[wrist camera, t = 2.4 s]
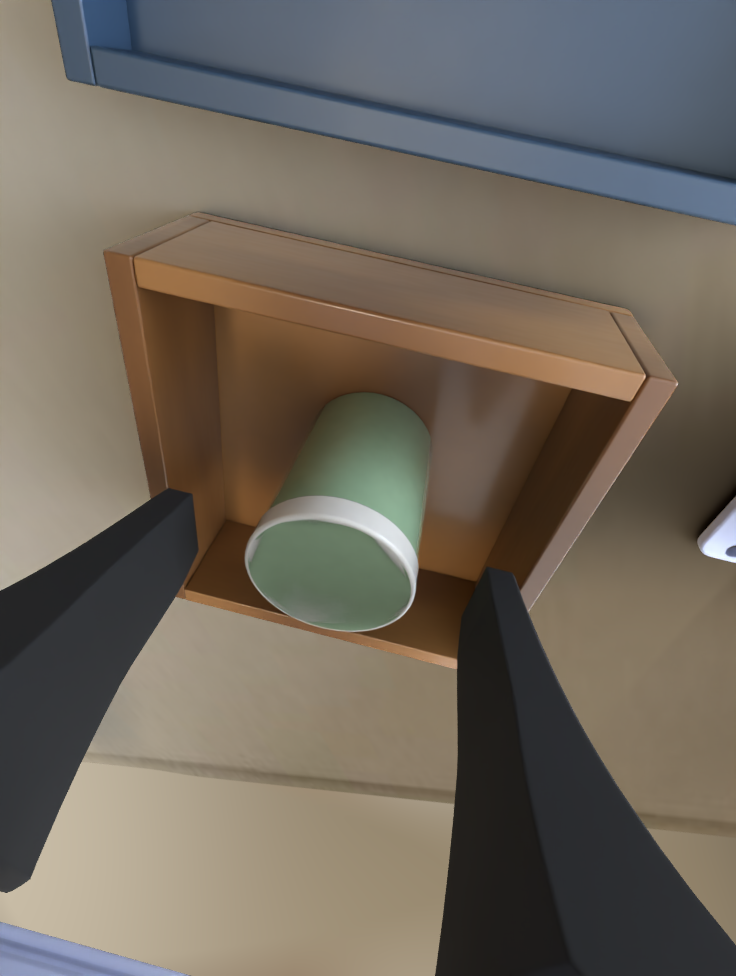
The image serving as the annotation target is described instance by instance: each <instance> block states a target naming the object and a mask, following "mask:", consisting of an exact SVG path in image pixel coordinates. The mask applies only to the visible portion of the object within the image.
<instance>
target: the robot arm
mask: <svg viewBox="0 0 736 976" xmlns="http://www.w3.org/2000/svg"><path fill="white" fill-rule="evenodd" d="M697 541H698V546H699V548H700V550H701V552H702V553H703V554H705V555H707V556H709V557H714V558H718V559H722V560H726V561H730V562H734V563H736V546H735V545H736V496H735V497H734V499H733V500H732V501H731V502H730V503H729V504H728V505H727V506H726V507H725V509H724V510H723V511H722V512H721V513H720V514H719V515H718V516H717V517H716V518H715V520H714V521H713V522H712V523H711V524H710V525H709V526H708V527H707V528H706V530H705V531H704V532H703V533H702V534H701V535H700V536H699V538H698V540H697ZM731 546H735V547H731ZM729 547H731V548H729ZM198 551H199V547H198V538H197V529H196V521H195V512H194V503H193V494H191V493H187V492H183V491H179V490H175V489H171V488H167V489H166V490H164V491H163V492H161V493H160V494H158V495H156V496H155V497H153V498H152V499H151V500H149V501H148V502H146V503H145V504H143V505H142V506H140V507H139V508H137V509H136V510H134V511H133V512H131V513H130V514H128V515H127V516H125V517H124V518H122V519H121V520H119V521H118V522H116V523H115V524H113V525H112V526H110V527H109V528H107V529H106V530H104V531H103V532H101V533H100V534H98V535H96V536H95V537H93V538H92V539H90V540H89V541H87V542H86V543H84V544H82V545H81V546H79V547H78V548H76V549H74V550H73V551H71V552H69V553H68V554H66V555H64V556H62V557H61V558H59V559H57V560H56V561H54V562H52V563H51V564H49V565H47V566H46V567H44V568H42V569H40V570H39V571H37V572H35V573H33V574H31V575H30V576H28V577H26V578H24V579H22V580H20V581H18V582H17V583H15V584H13V585H11V586H9V587H7V588H5V589H3V590H1V591H0V891H1V892H5V893H8V892H10V891H13V890H14V889H16V888H18V887H19V886H21V885H22V884H24V883H25V882H27V881H28V880H29V879H30V878H31V876H32V873H33V871H34V868H35V865H36V863H37V861H38V858H39V856H40V854H41V851H42V849H43V847H44V844H45V842H46V840H47V837H48V835H49V833H50V830H51V828H52V825H53V823H54V821H55V819H56V816H57V814H58V812H59V809H60V807H61V805H62V803H63V801H64V798H65V796H66V794H67V792H68V790H69V787H70V785H71V783H72V781H73V779H74V777H75V775H76V772H77V770H78V768H79V766H80V764H81V762H82V760H83V757H84V755H85V753H86V751H87V749H88V747H89V745H90V743H91V741H92V739H93V737H94V735H95V733H96V731H97V729H98V727H99V725H100V723H101V721H102V719H103V717H104V715H105V713H106V711H107V709H108V707H109V705H110V703H111V701H112V699H113V697H114V695H115V694H116V692H117V690H118V688H119V686H120V684H121V682H122V680H123V679H124V677H125V675H126V674H127V672H128V670H129V669H130V667H131V665H132V664H133V662H134V661H135V659H136V657H137V656H138V654H139V653H140V651H141V650H142V648H143V647H144V645H145V643H146V642H147V640H148V639H149V637H150V636H151V634H152V633H153V631H154V629H155V628H156V626H157V625H158V623H159V622H160V620H161V619H162V617H163V615H164V614H165V612H166V611H167V609H168V608H169V606H170V604H171V603H172V601H173V600H174V598H175V597H176V595H177V593H178V592H179V590H180V588H181V587H182V585H183V583H184V581H185V579H186V577H187V575H188V573H189V571H190V568H191V566H192V564H193V562H194V560H195V558H196V555H197V553H198ZM457 711H458V764H457V781H456V793H455V807H454V817H453V828H452V838H451V848H450V859H449V868H448V877H447V886H446V894H445V903H444V913H443V920H442V928H441V936H440V943H439V951H438V959H437V966H436V974H435V976H736V945H735V944H734V942H733V941H732V940H731V939H730V938H729V936H728V935H727V934H726V933H725V931H724V930H723V929H722V928H721V926H720V925H719V924H718V923H717V922H716V920H715V919H714V918H713V916H712V915H711V914H710V913H709V912H708V910H707V909H706V908H705V907H704V905H703V904H702V903H701V902H700V900H699V899H698V898H697V897H696V896H695V894H694V893H693V892H692V890H691V889H690V888H689V886H688V885H687V884H686V882H685V881H684V880H683V878H682V877H681V876H680V874H679V873H678V872H677V870H676V869H675V868H674V867H673V865H672V863H671V862H670V861H669V859H668V858H667V857H666V856H665V854H664V853H663V851H662V850H661V849H660V847H659V846H658V845H657V843H656V841H655V840H654V839H653V837H652V836H651V834H650V833H649V831H648V830H647V828H646V827H645V825H644V824H643V823H642V821H641V820H640V818H639V817H638V815H637V814H636V812H635V811H634V809H633V808H632V807H631V805H630V804H629V802H628V801H627V799H626V798H625V796H624V795H623V793H622V792H621V790H620V789H619V787H618V786H617V784H616V783H615V781H614V779H613V778H612V776H611V775H610V773H609V771H608V770H607V768H606V767H605V765H604V763H603V762H602V760H601V759H600V757H599V755H598V753H597V752H596V750H595V748H594V747H593V745H592V743H591V742H590V740H589V738H588V736H587V735H586V733H585V731H584V729H583V728H582V726H581V724H580V722H579V720H578V718H577V717H576V715H575V713H574V711H573V709H572V707H571V705H570V703H569V701H568V699H567V697H566V695H565V693H564V692H563V690H562V688H561V686H560V684H559V681H558V679H557V677H556V675H555V673H554V671H553V669H552V667H551V665H550V662H549V660H548V658H547V656H546V653H545V651H544V649H543V647H542V645H541V642H540V640H539V638H538V635H537V633H536V631H535V628H534V626H533V623H532V621H531V618H530V616H529V613H528V611H527V608H526V606H525V603H524V600H523V598H522V595H521V592H520V590H519V587H518V584H517V581H516V579H515V576H514V575H513V573H511V572H507V571H503V570H499V569H495V568H491V567H486V569H485V571H484V573H483V575H482V577H481V579H480V581H479V583H478V585H477V587H476V589H475V591H474V592H473V594H472V596H471V598H470V600H469V602H468V604H467V606H466V608H465V610H464V612H463V614H462V617H461V626H460V634H459V644H458V654H457ZM0 976H190V975H187V974H183V973H179V972H176V971H172V970H169V969H165V968H162V967H158V966H155V965H151V964H148V963H144V962H140V961H137V960H133V959H130V958H126V957H122V956H119V955H116V954H112V953H109V952H105V951H102V950H98V949H95V948H91V947H87V946H84V945H80V944H77V943H73V942H69V941H66V940H63V939H59V938H56V937H52V936H48V935H45V934H41V933H38V932H34V931H31V930H27V929H24V928H20V927H17V926H13V925H10V924H6V923H2V922H0Z"/></svg>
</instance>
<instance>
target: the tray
mask: <svg viewBox="0 0 736 976" xmlns="http://www.w3.org/2000/svg"><path fill="white" fill-rule="evenodd" d="M51 2H52V7H53V12H54V17H55V22H56V27H57V32H58V37H59V42H60V47H61V53H62V58H63V63H64V68H65V73H66V77H67V79H68V80H70V81H74V82H79V83H83V84H88V85H92V86H100V87H102V88H107V89H111V90H116V91H121V92H125V93H130V94H134V95H139V96H144V97H148V98H153V99H157V100H162V101H167V102H171V103H176V104H180V105H185V106H189V107H194V108H199V109H203V110H208V111H212V112H217V113H222V114H226V115H231V116H235V117H240V118H245V119H249V120H254V121H258V122H263V123H267V124H272V125H277V126H281V127H286V128H290V129H295V130H300V131H304V132H309V133H313V134H318V135H323V136H327V137H332V138H336V139H341V140H345V141H350V142H355V143H359V144H364V145H368V146H373V147H378V148H382V149H387V150H391V151H396V152H401V153H405V154H410V155H414V156H419V157H424V158H428V159H433V160H437V161H442V162H446V163H451V164H456V165H460V166H465V167H469V168H474V169H479V170H483V171H488V172H492V173H497V174H502V175H506V176H511V177H515V178H520V179H524V180H529V181H534V182H538V183H543V184H547V185H552V186H557V187H561V188H566V189H570V190H575V191H580V192H584V193H589V194H593V195H598V196H602V197H607V198H612V199H616V200H621V201H625V202H630V203H635V204H639V205H644V206H648V207H653V208H658V209H662V210H667V211H671V212H676V213H681V214H685V215H690V216H694V217H699V218H703V219H708V220H713V221H717V222H722V223H726V224H731V225H736V0H51Z"/></svg>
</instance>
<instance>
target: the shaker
mask: <svg viewBox="0 0 736 976" xmlns="http://www.w3.org/2000/svg"><path fill="white" fill-rule="evenodd" d="M432 455H433V447H432V441H431V437H430V434H429V432H428V430H427V428H426V426H425V424H424V423H423V421H422V420H421V419H420V418H419V416H418V415H417V414H416V413H415V412H414V411H413V410H412V409H410V408H409V407H408V406H406V405H405V404H403V403H401V402H400V401H398V400H396V399H393V398H391V397H389V396H385V395H382V394H377V393H370V392H358V393H351V394H346V395H343V396H340V397H338V398H336V399H334V400H332V401H330V402H329V403H327V404H326V405H325V406H324V407H323V408H321V409H320V411H319V412H318V413H317V414H316V416H315V418H314V420H313V422H312V423H311V425H310V427H309V429H308V431H307V433H306V435H305V437H304V439H303V441H302V443H301V445H300V447H299V448H298V450H297V452H296V454H295V456H294V458H293V460H292V462H291V464H290V466H289V468H288V470H287V472H286V474H285V475H284V477H283V479H282V481H281V483H280V485H279V487H278V489H277V491H276V493H275V495H274V497H273V499H272V500H271V502H270V504H269V506H268V508H267V510H266V512H265V514H264V515H263V516H262V517H261V518H260V519H259V521H258V523H257V525H256V527H255V529H254V530H253V532H252V534H251V536H250V538H249V540H248V542H247V545H246V548H245V566H246V569H247V573H248V575H249V577H250V579H251V581H252V583H253V584H254V586H255V587H256V589H257V590H258V591H259V592H260V593H261V595H262V596H263V597H264V598H265V599H266V600H268V601H269V602H270V603H271V604H272V605H274V606H275V607H276V608H278V609H279V610H281V611H282V612H284V613H286V614H287V615H289V616H291V617H293V618H295V619H297V620H299V621H302V622H304V623H307V624H310V625H313V626H316V627H320V628H324V629H329V630H335V631H345V632H361V631H369V630H374V629H378V628H381V627H385V626H387V625H389V624H391V623H393V622H395V621H396V620H398V619H399V618H401V617H402V616H403V615H404V614H405V613H406V612H407V610H408V609H409V608H410V606H411V605H412V603H413V601H414V598H415V594H416V588H417V580H418V570H419V566H418V557H419V550H420V543H421V536H422V528H423V521H424V514H425V507H426V499H427V492H428V485H429V478H430V470H431V463H432Z"/></svg>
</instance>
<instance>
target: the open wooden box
mask: <svg viewBox="0 0 736 976" xmlns="http://www.w3.org/2000/svg"><path fill="white" fill-rule="evenodd" d="M103 254H104V259H105V264H106V269H107V275H108V280H109V285H110V290H111V295H112V300H113V306H114V311H115V316H116V321H117V326H118V331H119V337H120V342H121V347H122V352H123V357H124V363H125V368H126V373H127V378H128V383H129V388H130V394H131V399H132V404H133V409H134V414H135V419H136V425H137V430H138V435H139V440H140V445H141V450H142V456H143V461H144V466H145V471H146V476H147V481H148V487H149V492H150V497H151V499H152V498H153V497H155V496H156V495H158V494H160V493H161V492H163V491H164V490H166V489H167V488H171V489H175V490H179V491H183V492H187V493H191V494H193V503H194V512H195V521H196V529H197V538H198V547H199V551H198V553H197V555H196V558H195V560H194V562H193V564H192V566H191V568H190V571H189V573H188V575H187V577H186V579H185V581H184V583H183V585H182V587H181V588H180V590H179V592H178V593H177V595H176V597H178V598H182V599H186V600H190V601H193V602H197V603H201V604H205V605H209V606H213V607H217V608H221V609H224V610H228V611H232V612H236V613H240V614H244V615H248V616H252V617H256V618H259V619H263V620H267V621H271V622H275V623H279V624H283V625H287V626H290V627H294V628H298V629H302V630H306V631H310V632H314V633H318V634H321V635H325V636H329V637H333V638H337V639H341V640H345V641H349V642H353V643H356V644H360V645H364V646H368V647H372V648H376V649H380V650H384V651H387V652H391V653H395V654H399V655H403V656H407V657H411V658H415V659H419V660H422V661H426V662H430V663H434V664H438V665H442V666H446V667H450V668H453V669H457V654H458V644H459V634H460V626H461V617H462V614H463V612H464V610H465V608H466V606H467V604H468V602H469V600H470V598H471V596H472V594H473V592H474V591H475V589H476V587H477V585H478V583H479V581H480V579H481V577H482V575H483V573H484V571H485V569H486V567H491V568H495V569H499V570H503V571H507V572H511V573H513V575H514V576H515V579H516V581H517V584H518V587H519V590H520V592H521V595H522V598H523V600H524V603H525V606H526V608H527V611H528V612H529V610H530V609H531V607H532V606H533V604H534V603H535V601H536V600H537V598H538V597H539V595H540V594H541V592H542V591H543V589H544V587H545V586H546V584H547V583H548V581H549V580H550V578H551V577H552V575H553V574H554V572H555V571H556V569H557V568H558V566H559V565H560V563H561V562H562V560H563V559H564V557H565V556H566V554H567V553H568V551H569V550H570V548H571V547H572V545H573V543H574V542H575V540H576V539H577V537H578V536H579V534H580V533H581V531H582V530H583V528H584V527H585V525H586V524H587V522H588V521H589V519H590V518H591V516H592V515H593V513H594V512H595V510H596V509H597V507H598V506H599V504H600V503H601V501H602V500H603V498H604V496H605V495H606V493H607V492H608V490H609V489H610V487H611V486H612V484H613V483H614V481H615V480H616V478H617V477H618V475H619V474H620V472H621V471H622V469H623V468H624V466H625V465H626V463H627V462H628V460H629V459H630V457H631V456H632V454H633V453H634V451H635V449H636V448H637V446H638V445H639V443H640V442H641V440H642V439H643V437H644V436H645V434H646V433H647V431H648V430H649V428H650V427H651V425H652V424H653V422H654V421H655V419H656V418H657V416H658V415H659V413H660V412H661V410H662V409H663V407H664V406H665V404H666V402H667V401H668V399H669V398H670V396H671V395H672V393H673V392H674V390H675V389H676V387H677V385H678V382H677V380H676V379H675V377H674V376H673V374H672V373H671V371H670V370H669V368H668V367H667V365H666V364H665V363H664V361H663V360H662V358H661V357H660V355H659V354H658V352H657V351H656V349H655V348H654V346H653V345H652V343H651V342H650V340H649V339H648V338H647V336H646V335H645V333H644V332H643V330H642V329H641V327H640V326H639V324H638V323H637V321H636V320H635V318H634V317H633V315H632V314H631V312H630V311H629V310H628V309H624V308H620V307H616V306H611V305H607V304H602V303H598V302H593V301H589V300H585V299H580V298H576V297H571V296H567V295H563V294H558V293H554V292H549V291H545V290H540V289H536V288H532V287H527V286H523V285H518V284H514V283H509V282H505V281H501V280H496V279H492V278H487V277H483V276H479V275H474V274H470V273H465V272H461V271H456V270H452V269H448V268H443V267H439V266H434V265H430V264H425V263H421V262H417V261H412V260H408V259H403V258H399V257H395V256H390V255H386V254H381V253H377V252H372V251H368V250H364V249H359V248H355V247H350V246H346V245H342V244H337V243H333V242H328V241H324V240H319V239H315V238H311V237H306V236H302V235H297V234H293V233H288V232H284V231H280V230H275V229H271V228H266V227H262V226H258V225H253V224H249V223H244V222H240V221H235V220H231V219H227V218H222V217H218V216H213V215H209V214H204V213H200V212H195V213H193V214H191V215H189V216H185V217H183V218H181V219H178V220H176V221H173V222H171V223H168V224H166V225H163V226H161V227H159V228H156V229H154V230H151V231H149V232H146V233H144V234H142V235H139V236H137V237H134V238H132V239H129V240H127V241H124V242H122V243H120V244H117V245H115V246H112V247H110V248H107V249H105V250H104V251H103ZM358 392H370V393H377V394H382V395H385V396H389V397H391V398H393V399H396V400H398V401H400V402H401V403H403V404H405V405H406V406H408V407H409V408H410V409H412V410H413V411H414V412H415V413H416V414H417V415H418V416H419V418H420V419H421V420H422V421H423V423H424V424H425V426H426V428H427V430H428V432H429V434H430V437H431V441H432V447H433V455H432V463H431V470H430V478H429V485H428V492H427V499H426V507H425V514H424V521H423V528H422V536H421V543H420V550H419V557H418V566H419V570H418V580H417V588H416V594H415V598H414V601H413V603H412V605H411V606H410V608H409V609H408V610H407V612H406V613H405V614H404V615H403V616H402V617H401V618H399V619H398V620H396V621H395V622H393V623H391V624H389V625H387V626H385V627H381V628H378V629H374V630H369V631H361V632H345V631H335V630H329V629H324V628H320V627H316V626H313V625H310V624H307V623H304V622H302V621H299V620H297V619H295V618H293V617H291V616H289V615H287V614H286V613H284V612H282V611H281V610H279V609H278V608H276V607H275V606H274V605H272V604H271V603H270V602H269V601H268V600H266V599H265V598H264V597H263V596H262V595H261V593H260V592H259V591H258V590H257V589H256V587H255V586H254V584H253V583H252V581H251V579H250V577H249V575H248V573H247V569H246V566H245V548H246V545H247V542H248V540H249V538H250V536H251V534H252V532H253V530H254V529H255V527H256V525H257V523H258V521H259V519H260V518H261V517H262V516H263V515H264V514H265V512H266V510H267V508H268V506H269V504H270V502H271V500H272V499H273V497H274V495H275V493H276V491H277V489H278V487H279V485H280V483H281V481H282V479H283V477H284V475H285V474H286V472H287V470H288V468H289V466H290V464H291V462H292V460H293V458H294V456H295V454H296V452H297V450H298V448H299V447H300V445H301V443H302V441H303V439H304V437H305V435H306V433H307V431H308V429H309V427H310V425H311V423H312V422H313V420H314V418H315V416H316V414H317V413H318V412H319V411H320V409H321V408H323V407H324V406H325V405H326V404H327V403H329V402H330V401H332V400H334V399H336V398H338V397H340V396H343V395H346V394H351V393H358Z"/></svg>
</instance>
